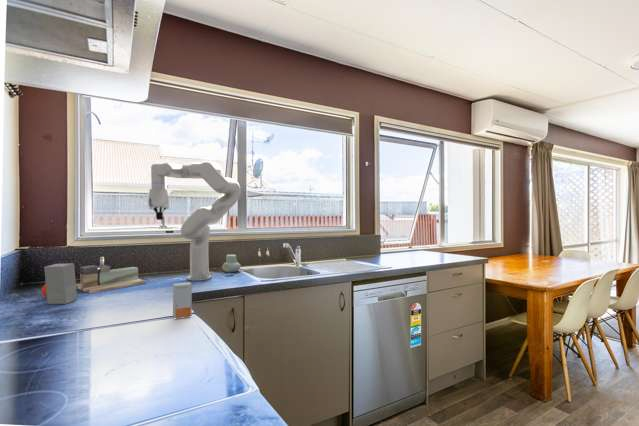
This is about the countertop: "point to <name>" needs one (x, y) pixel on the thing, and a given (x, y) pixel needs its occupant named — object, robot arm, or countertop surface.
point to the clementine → (44, 290)
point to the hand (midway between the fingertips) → (159, 219)
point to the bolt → (101, 263)
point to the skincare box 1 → (60, 283)
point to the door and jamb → (107, 278)
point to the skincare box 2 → (182, 300)
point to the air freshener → (231, 264)
